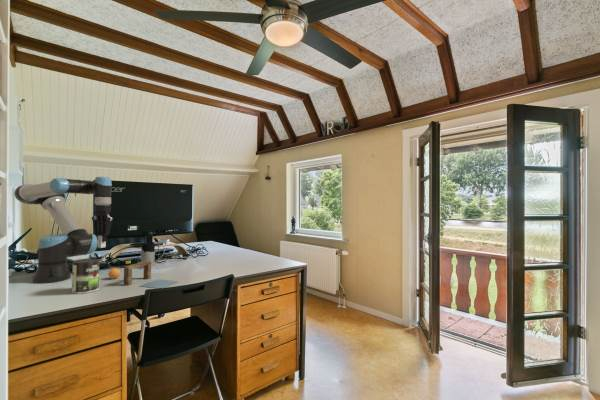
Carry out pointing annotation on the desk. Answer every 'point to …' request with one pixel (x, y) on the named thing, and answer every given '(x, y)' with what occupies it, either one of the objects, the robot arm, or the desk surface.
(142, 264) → the bridge
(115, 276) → the ball
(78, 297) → the desk surface
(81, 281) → the coffee can
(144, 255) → the glass holder
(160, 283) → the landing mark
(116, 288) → the desk surface
